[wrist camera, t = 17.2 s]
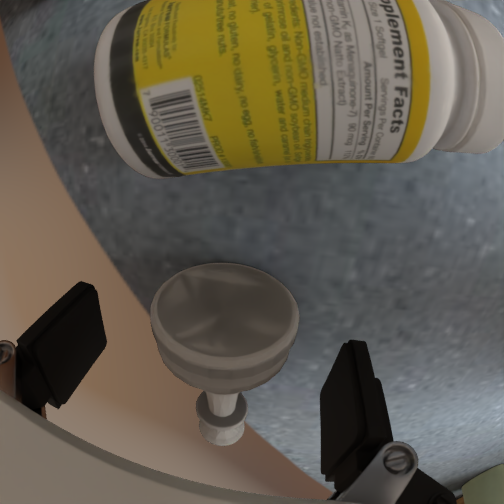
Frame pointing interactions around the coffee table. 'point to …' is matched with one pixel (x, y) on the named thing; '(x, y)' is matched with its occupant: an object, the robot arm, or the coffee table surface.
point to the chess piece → (223, 338)
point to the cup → (485, 487)
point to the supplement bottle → (296, 83)
